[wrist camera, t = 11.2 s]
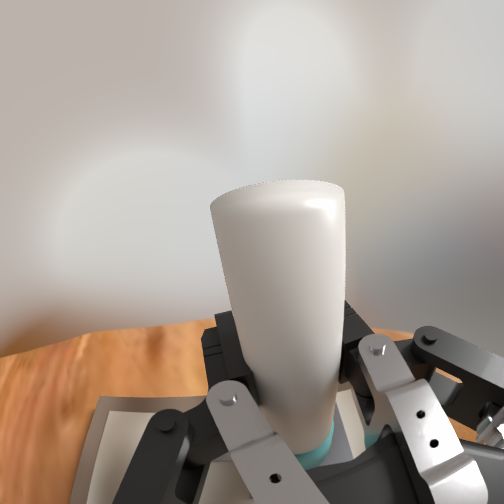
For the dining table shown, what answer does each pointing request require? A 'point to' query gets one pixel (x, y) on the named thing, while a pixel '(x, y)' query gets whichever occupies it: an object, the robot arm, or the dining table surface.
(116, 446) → the board
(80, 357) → the dining table surface
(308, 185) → the cylinder
